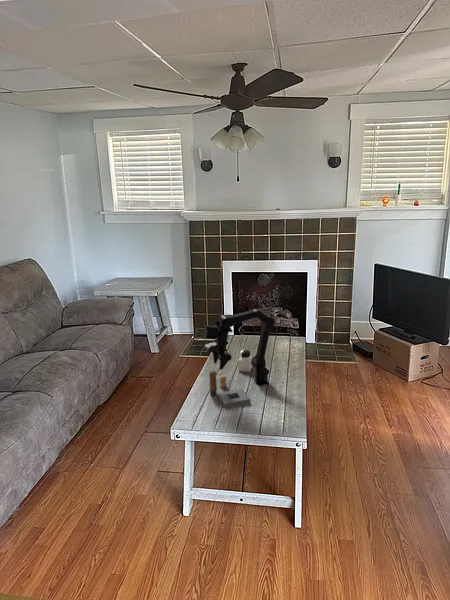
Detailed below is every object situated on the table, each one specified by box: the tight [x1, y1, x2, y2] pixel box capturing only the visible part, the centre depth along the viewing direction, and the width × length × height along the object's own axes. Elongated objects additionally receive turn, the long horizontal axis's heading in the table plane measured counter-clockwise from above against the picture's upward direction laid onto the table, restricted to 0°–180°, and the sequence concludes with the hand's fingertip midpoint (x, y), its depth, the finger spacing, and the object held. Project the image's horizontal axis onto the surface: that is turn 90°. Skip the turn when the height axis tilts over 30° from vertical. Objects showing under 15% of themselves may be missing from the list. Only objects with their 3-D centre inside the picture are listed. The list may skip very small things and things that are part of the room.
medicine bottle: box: [237, 349, 253, 373], centre depth 257 cm, size 7×7×12 cm
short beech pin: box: [219, 374, 227, 389], centre depth 236 cm, size 4×4×6 cm
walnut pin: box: [209, 370, 218, 397], centre depth 227 cm, size 4×4×13 cm
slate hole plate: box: [216, 388, 251, 409], centre depth 221 cm, size 14×12×2 cm
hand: (217, 366), depth 228 cm, fingers open, 9 cm apart
